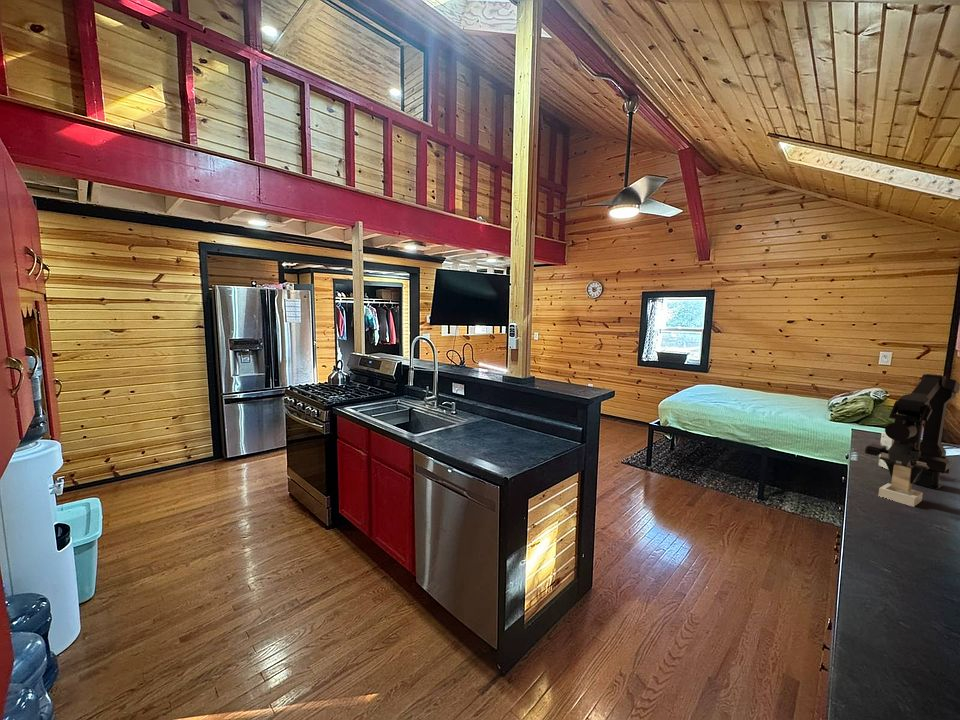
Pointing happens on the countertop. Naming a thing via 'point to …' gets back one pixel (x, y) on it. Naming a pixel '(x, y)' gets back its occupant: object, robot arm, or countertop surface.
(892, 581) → the countertop surface
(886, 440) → the syrup box
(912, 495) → the cream square ring
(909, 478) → the wooden peg
